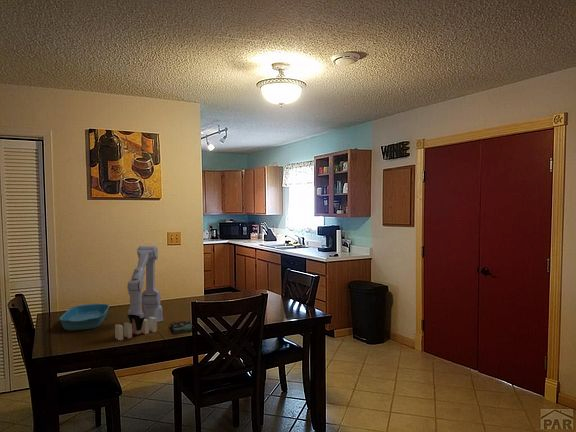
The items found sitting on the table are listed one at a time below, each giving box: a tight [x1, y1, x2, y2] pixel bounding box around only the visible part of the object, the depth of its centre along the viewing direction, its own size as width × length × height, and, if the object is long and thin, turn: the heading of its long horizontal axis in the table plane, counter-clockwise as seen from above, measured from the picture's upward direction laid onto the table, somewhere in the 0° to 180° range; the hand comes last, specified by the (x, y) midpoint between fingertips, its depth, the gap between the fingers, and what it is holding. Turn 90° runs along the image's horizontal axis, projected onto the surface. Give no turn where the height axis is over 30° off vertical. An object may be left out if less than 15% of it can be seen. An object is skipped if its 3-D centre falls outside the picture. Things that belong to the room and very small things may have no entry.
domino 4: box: [141, 319, 150, 335], centre depth 217 cm, size 2×5×7 cm, turn 45°
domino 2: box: [123, 321, 133, 339], centre depth 211 cm, size 2×5×7 cm, turn 45°
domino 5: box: [149, 317, 158, 333], centre depth 220 cm, size 2×5×7 cm, turn 45°
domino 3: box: [132, 319, 142, 335], centre depth 214 cm, size 2×5×7 cm, turn 45°
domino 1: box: [114, 323, 124, 341], centre depth 207 cm, size 2×5×7 cm, turn 45°
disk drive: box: [170, 320, 193, 335], centre depth 222 cm, size 10×3×15 cm
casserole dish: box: [59, 303, 110, 331], centre depth 237 cm, size 37×22×7 cm, turn 14°
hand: (136, 329), depth 214 cm, fingers closed on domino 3, 5 cm apart
